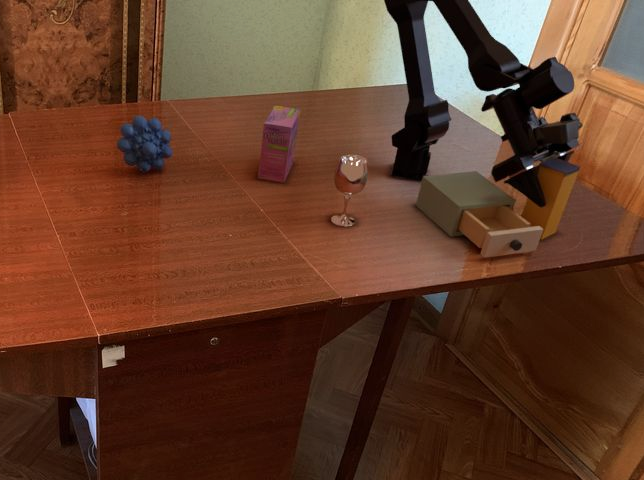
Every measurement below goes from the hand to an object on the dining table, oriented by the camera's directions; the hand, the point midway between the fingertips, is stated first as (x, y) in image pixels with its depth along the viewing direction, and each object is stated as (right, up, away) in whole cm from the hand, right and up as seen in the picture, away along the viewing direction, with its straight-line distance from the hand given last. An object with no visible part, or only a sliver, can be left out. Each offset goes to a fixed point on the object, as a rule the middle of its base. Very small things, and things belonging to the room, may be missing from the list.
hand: (555, 201), depth 135 cm
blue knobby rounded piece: (-74, +9, +20) cm, 77 cm away
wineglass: (-37, -3, +6) cm, 37 cm away
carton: (-1, -5, +5) cm, 7 cm away
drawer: (-11, -7, 0) cm, 13 cm away
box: (-47, +11, +23) cm, 53 cm away
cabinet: (-14, -1, +8) cm, 16 cm away
